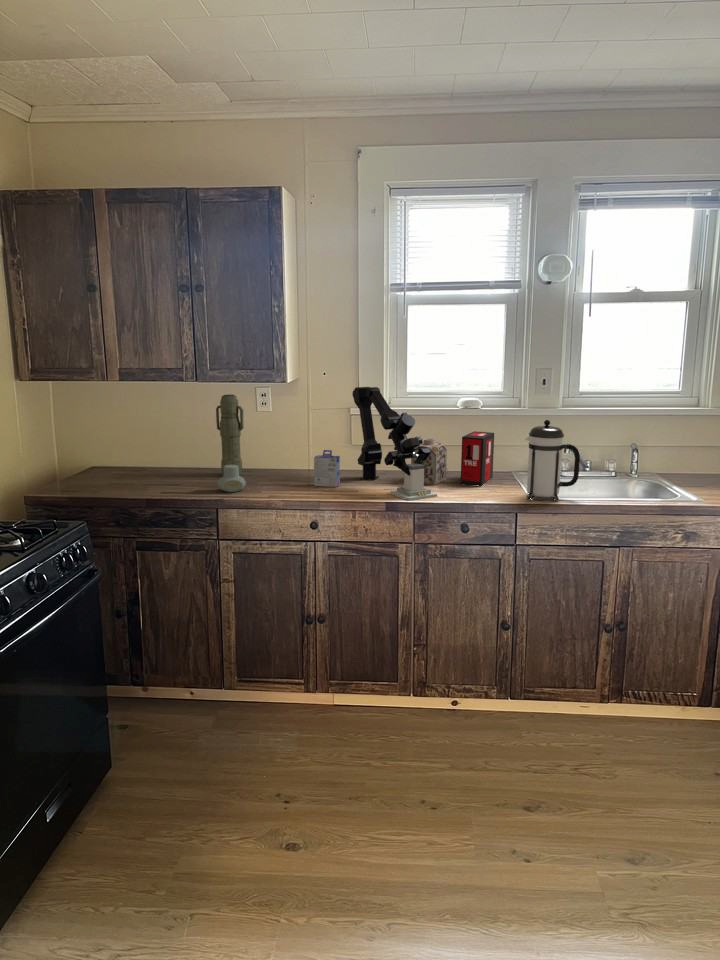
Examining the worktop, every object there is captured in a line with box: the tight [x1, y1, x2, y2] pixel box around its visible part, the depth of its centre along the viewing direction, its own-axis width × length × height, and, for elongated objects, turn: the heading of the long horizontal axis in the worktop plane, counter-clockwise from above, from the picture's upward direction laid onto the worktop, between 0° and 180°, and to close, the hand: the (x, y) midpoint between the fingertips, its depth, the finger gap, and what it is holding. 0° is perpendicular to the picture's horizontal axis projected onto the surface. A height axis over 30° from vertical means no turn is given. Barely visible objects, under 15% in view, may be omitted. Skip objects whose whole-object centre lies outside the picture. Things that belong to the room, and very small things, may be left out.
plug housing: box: [403, 463, 425, 492], centre depth 271 cm, size 6×6×10 cm
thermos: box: [215, 394, 245, 477], centre depth 304 cm, size 9×12×35 cm
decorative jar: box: [410, 438, 448, 486], centre depth 294 cm, size 12×12×18 cm
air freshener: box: [217, 465, 247, 493], centre depth 278 cm, size 11×8×10 cm
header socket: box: [390, 486, 438, 502], centre depth 272 cm, size 13×13×2 cm
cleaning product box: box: [460, 431, 495, 487], centre depth 293 cm, size 16×9×20 cm, turn 154°
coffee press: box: [524, 419, 581, 501], centre depth 265 cm, size 17×16×30 cm
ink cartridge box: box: [313, 449, 341, 488], centre depth 287 cm, size 10×6×14 cm, turn 78°
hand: (415, 474), depth 269 cm, fingers closed on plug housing, 5 cm apart
